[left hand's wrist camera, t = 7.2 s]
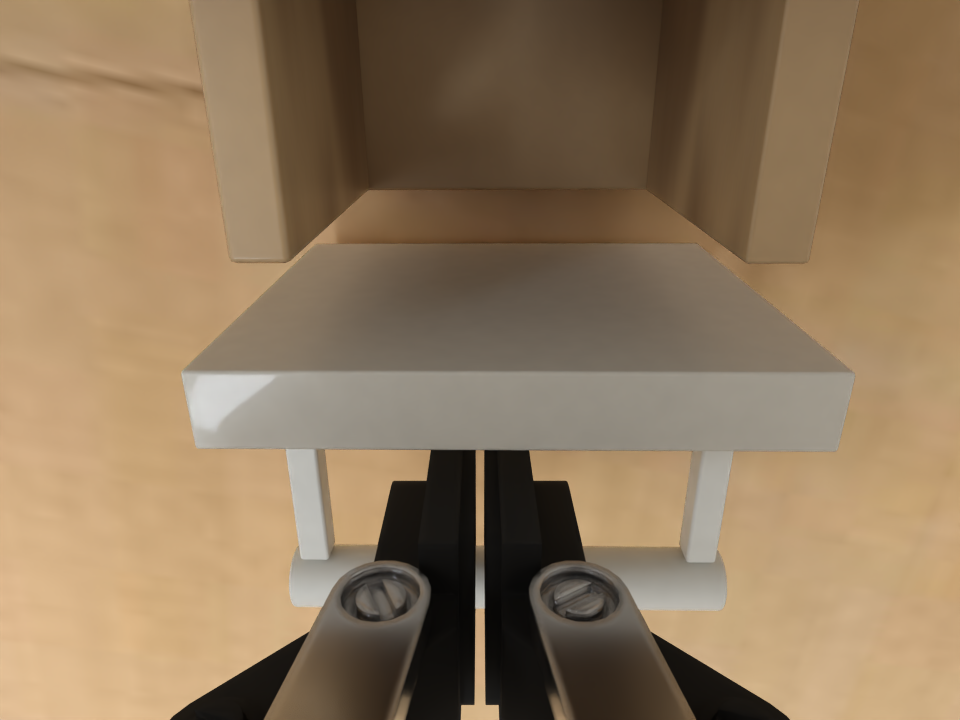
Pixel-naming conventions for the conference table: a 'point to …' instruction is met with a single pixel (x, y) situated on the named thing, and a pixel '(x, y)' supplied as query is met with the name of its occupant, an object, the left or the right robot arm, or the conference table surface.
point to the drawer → (520, 267)
